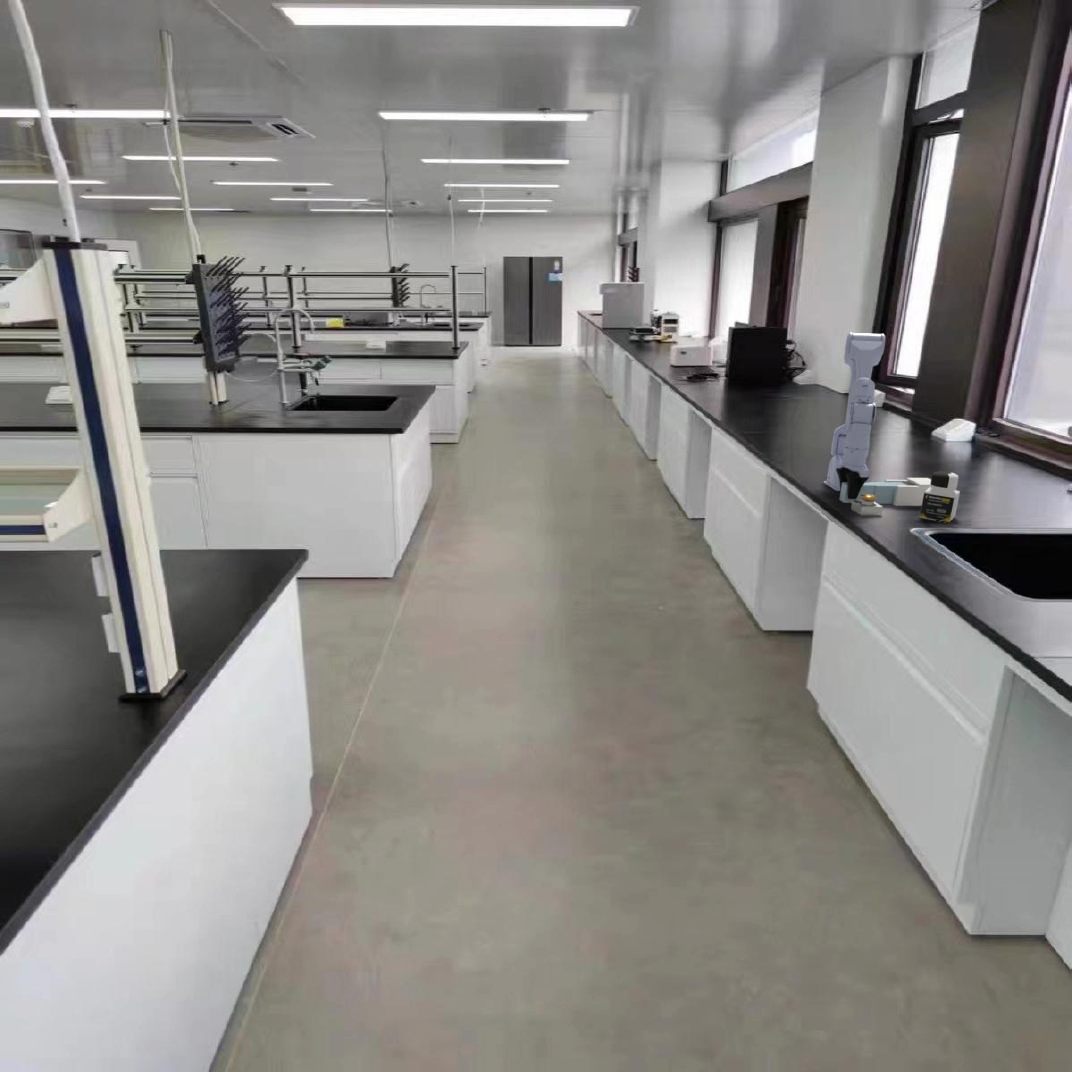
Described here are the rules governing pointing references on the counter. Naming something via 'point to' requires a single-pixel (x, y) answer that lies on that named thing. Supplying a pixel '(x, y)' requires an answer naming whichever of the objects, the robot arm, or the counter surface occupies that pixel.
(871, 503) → the gold-topped knob
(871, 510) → the plunger collar
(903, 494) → the housing
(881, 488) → the cartridge
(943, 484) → the medicine bottle
